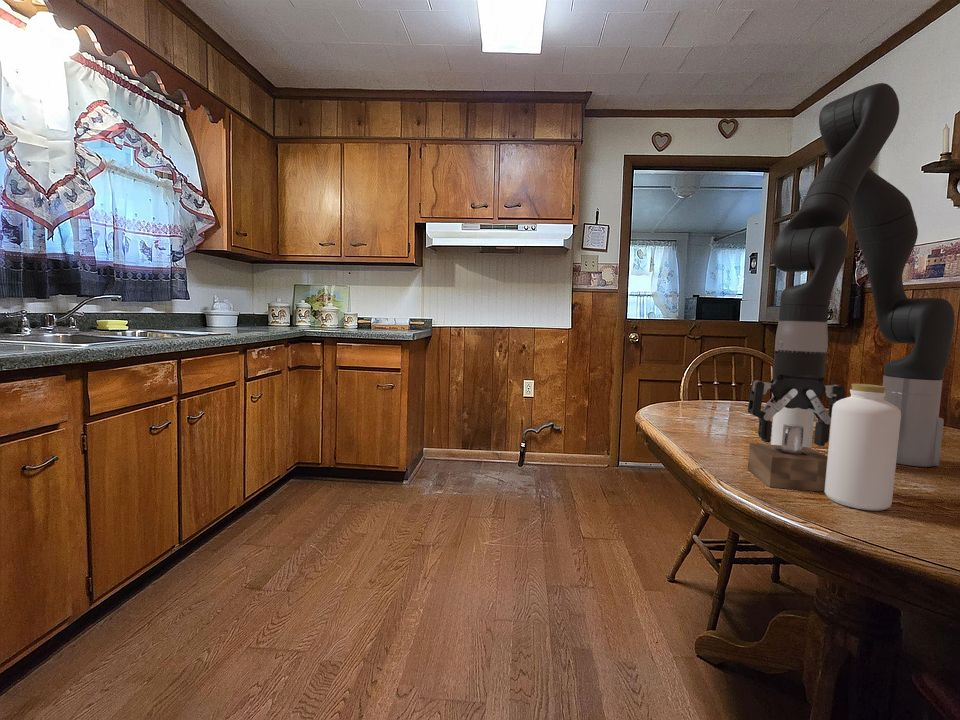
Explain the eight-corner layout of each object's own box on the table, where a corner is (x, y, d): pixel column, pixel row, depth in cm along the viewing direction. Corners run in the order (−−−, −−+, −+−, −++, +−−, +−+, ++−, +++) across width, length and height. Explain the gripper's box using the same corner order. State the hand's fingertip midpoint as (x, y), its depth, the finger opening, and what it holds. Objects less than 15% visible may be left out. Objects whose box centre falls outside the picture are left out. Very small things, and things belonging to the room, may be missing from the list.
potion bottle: (895, 517, 73) (908, 390, 72) (824, 504, 78) (835, 384, 76) (887, 501, 80) (899, 385, 79) (823, 490, 85) (833, 380, 83)
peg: (794, 470, 91) (798, 424, 90) (802, 475, 88) (807, 428, 87) (776, 468, 91) (780, 423, 90) (783, 473, 88) (787, 427, 87)
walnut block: (806, 474, 94) (808, 447, 93) (835, 492, 84) (838, 461, 83) (747, 470, 95) (749, 443, 95) (769, 487, 85) (772, 457, 85)
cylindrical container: (799, 453, 110) (809, 335, 108) (817, 462, 103) (829, 336, 101) (764, 450, 111) (773, 333, 109) (779, 459, 104) (790, 334, 102)
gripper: (834, 349, 90) (825, 441, 92) (747, 345, 92) (740, 435, 94) (859, 352, 83) (849, 451, 84) (764, 347, 85) (756, 445, 86)
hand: (792, 443), depth 89 cm, fingers open, 8 cm apart
